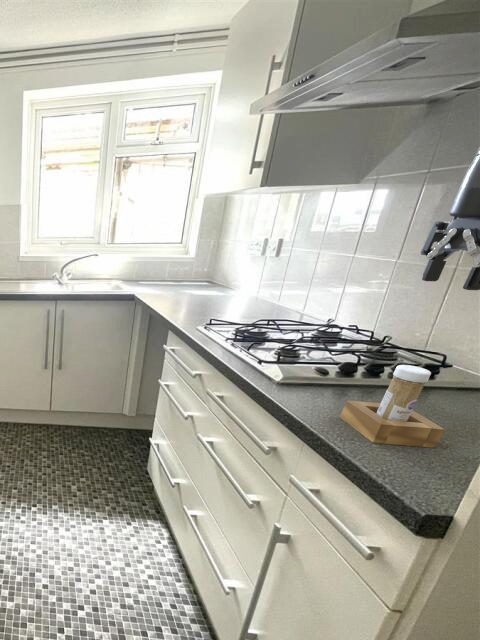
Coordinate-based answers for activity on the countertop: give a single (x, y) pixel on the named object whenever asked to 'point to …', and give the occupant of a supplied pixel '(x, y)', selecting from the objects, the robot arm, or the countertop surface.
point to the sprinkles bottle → (403, 392)
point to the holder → (390, 426)
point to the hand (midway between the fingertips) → (449, 285)
